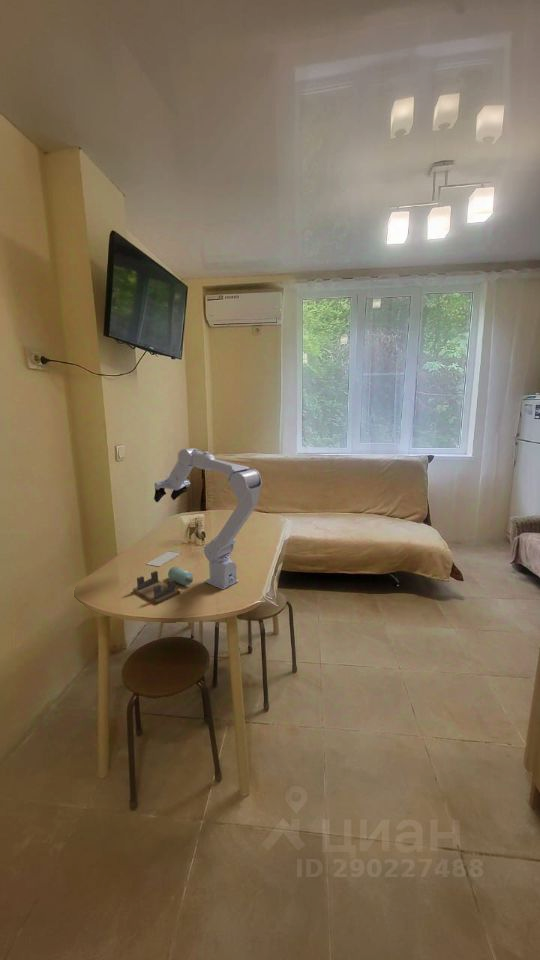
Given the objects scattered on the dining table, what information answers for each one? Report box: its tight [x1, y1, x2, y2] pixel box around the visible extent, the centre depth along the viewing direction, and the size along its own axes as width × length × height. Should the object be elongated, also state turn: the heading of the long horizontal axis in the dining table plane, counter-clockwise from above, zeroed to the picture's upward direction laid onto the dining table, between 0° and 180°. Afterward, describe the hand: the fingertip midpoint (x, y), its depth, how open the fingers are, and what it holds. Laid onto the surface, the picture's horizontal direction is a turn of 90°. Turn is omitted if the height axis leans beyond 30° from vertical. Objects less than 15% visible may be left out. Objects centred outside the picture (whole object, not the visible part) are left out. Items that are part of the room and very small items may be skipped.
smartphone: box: [145, 550, 182, 568], centre depth 151 cm, size 7×1×15 cm
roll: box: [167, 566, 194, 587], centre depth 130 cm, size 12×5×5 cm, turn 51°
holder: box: [132, 570, 181, 605], centre depth 122 cm, size 14×9×5 cm, turn 51°
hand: (164, 499), depth 139 cm, fingers open, 7 cm apart
